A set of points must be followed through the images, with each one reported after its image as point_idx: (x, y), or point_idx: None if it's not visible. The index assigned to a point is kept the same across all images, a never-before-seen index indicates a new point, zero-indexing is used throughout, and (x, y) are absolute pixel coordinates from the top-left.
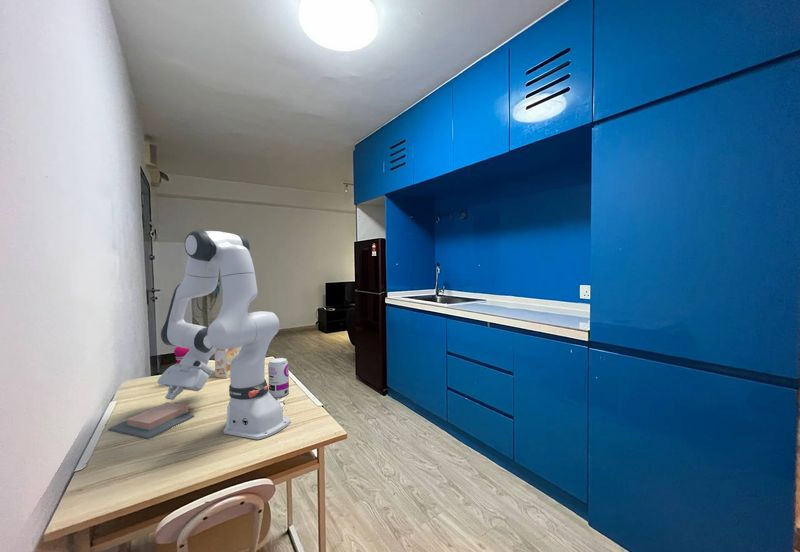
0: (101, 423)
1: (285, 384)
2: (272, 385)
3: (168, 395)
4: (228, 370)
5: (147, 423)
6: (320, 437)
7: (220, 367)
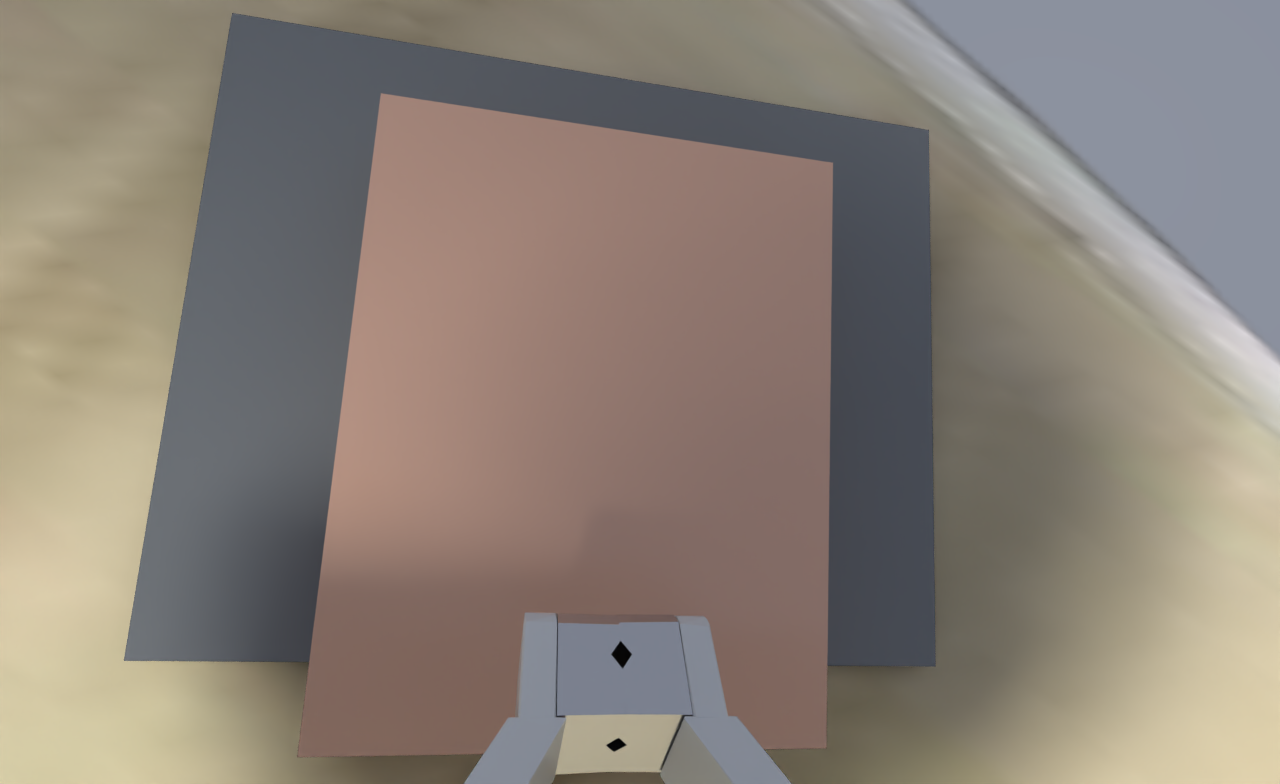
0: (1133, 241)
1: None
2: None
3: (644, 659)
4: None
5: (416, 102)
6: None
7: None
